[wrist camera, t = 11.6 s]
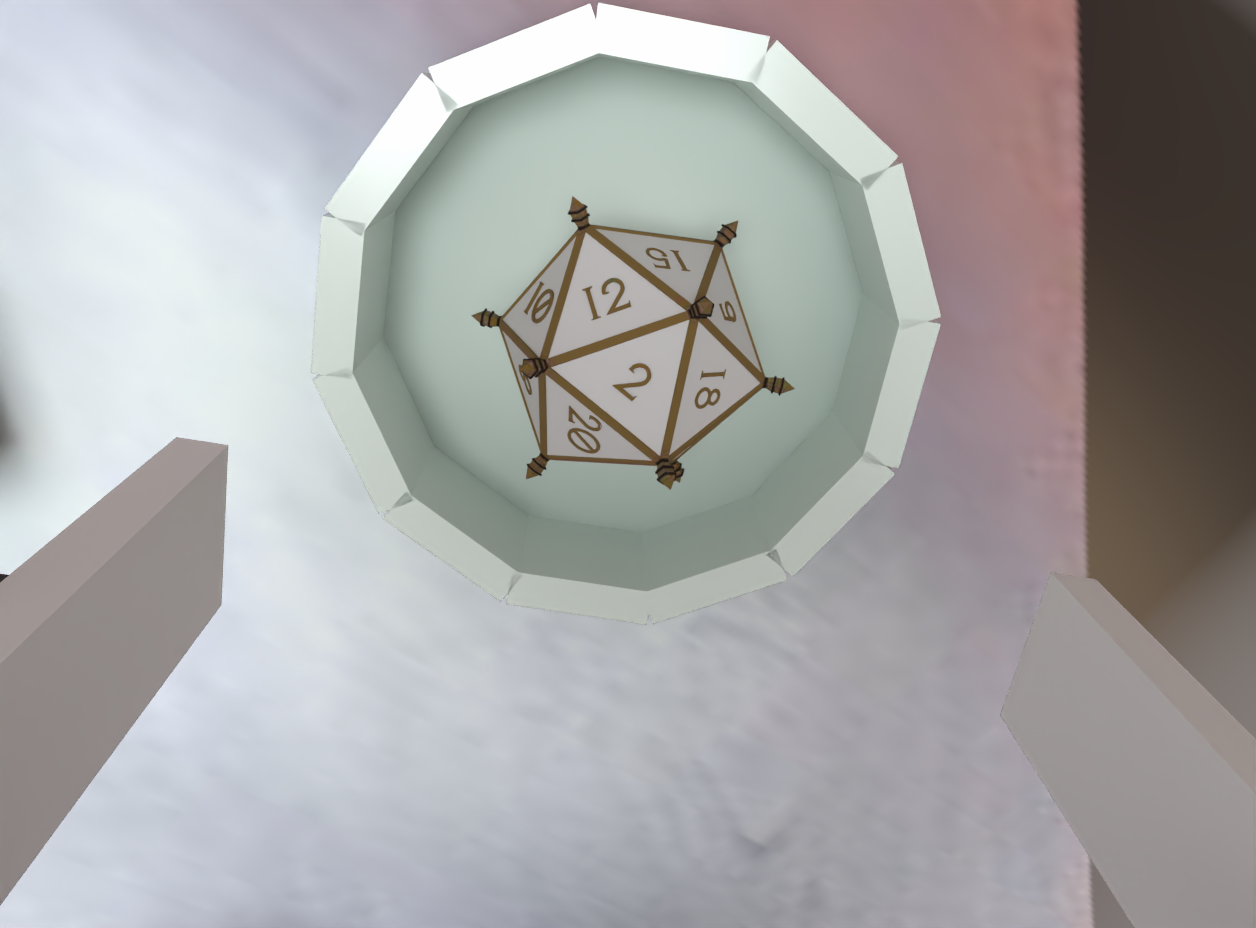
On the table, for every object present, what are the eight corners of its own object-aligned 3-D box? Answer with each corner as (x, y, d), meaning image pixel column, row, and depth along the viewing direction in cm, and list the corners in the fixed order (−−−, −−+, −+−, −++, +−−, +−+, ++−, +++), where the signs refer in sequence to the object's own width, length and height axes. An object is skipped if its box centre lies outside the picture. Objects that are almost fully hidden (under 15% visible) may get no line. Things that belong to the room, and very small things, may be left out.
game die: (662, 337, 38) (735, 570, 33) (438, 317, 34) (479, 574, 29) (771, 145, 31) (885, 396, 26) (508, 95, 28) (577, 375, 22)
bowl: (812, 577, 39) (844, 653, 34) (339, 505, 37) (297, 573, 32) (946, 82, 32) (1010, 83, 27) (384, -28, 31) (339, -49, 26)
